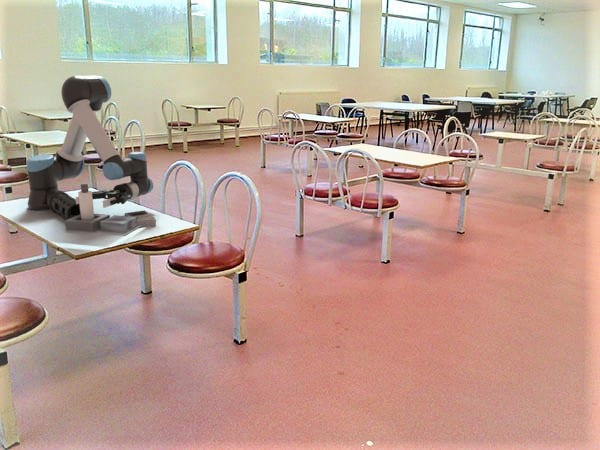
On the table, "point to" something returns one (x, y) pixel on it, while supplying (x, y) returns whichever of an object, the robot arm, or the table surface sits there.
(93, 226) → the socket block
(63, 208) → the muzzle brake
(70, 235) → the table surface
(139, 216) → the handheld gaming device
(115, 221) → the stand
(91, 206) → the white bottle
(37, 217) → the table surface
